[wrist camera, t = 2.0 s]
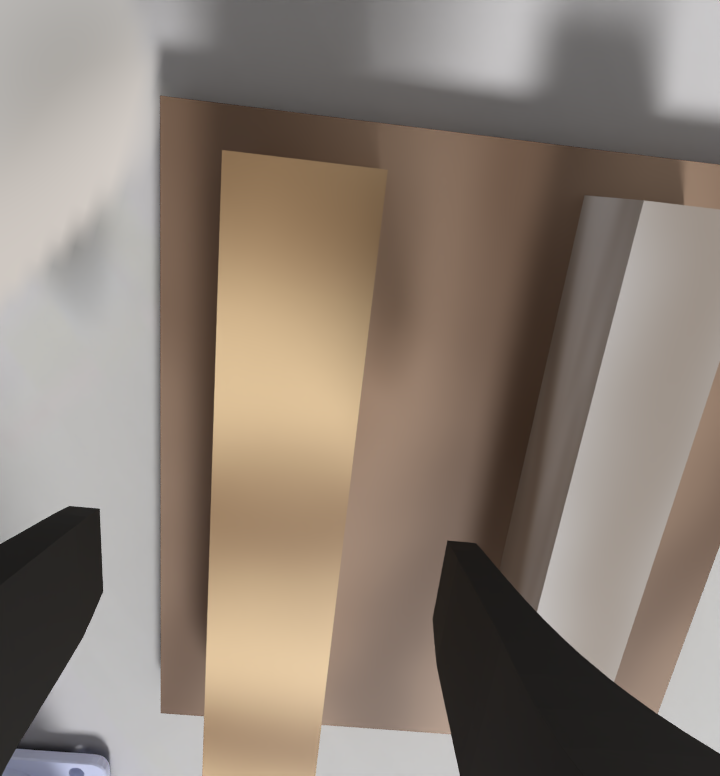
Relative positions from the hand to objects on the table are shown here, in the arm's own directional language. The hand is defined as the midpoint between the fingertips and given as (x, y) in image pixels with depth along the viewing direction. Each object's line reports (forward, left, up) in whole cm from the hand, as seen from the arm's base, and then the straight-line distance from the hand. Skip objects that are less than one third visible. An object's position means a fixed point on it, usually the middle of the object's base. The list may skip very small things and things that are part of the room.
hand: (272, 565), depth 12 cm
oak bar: (0, 0, -4) cm, 4 cm away
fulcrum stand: (+4, 0, -5) cm, 7 cm away
